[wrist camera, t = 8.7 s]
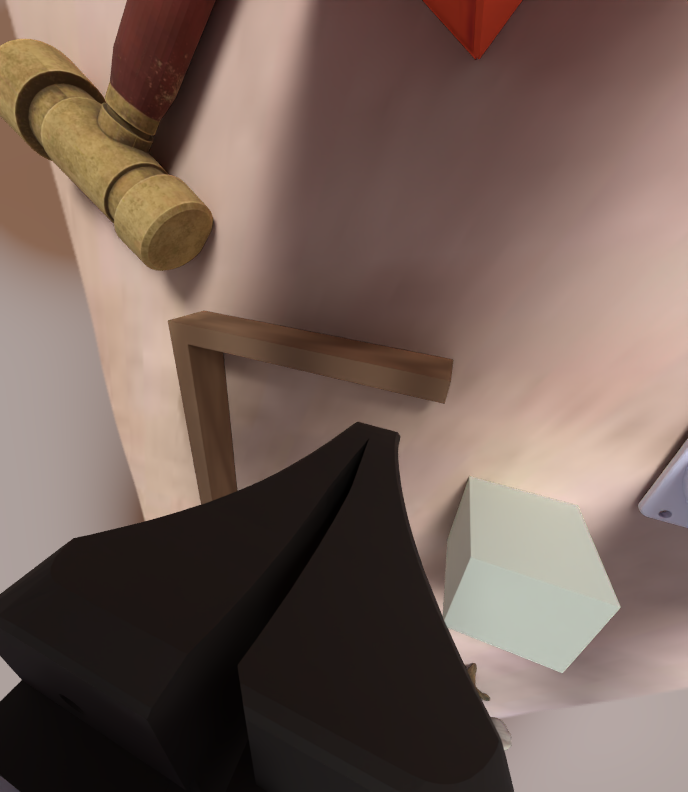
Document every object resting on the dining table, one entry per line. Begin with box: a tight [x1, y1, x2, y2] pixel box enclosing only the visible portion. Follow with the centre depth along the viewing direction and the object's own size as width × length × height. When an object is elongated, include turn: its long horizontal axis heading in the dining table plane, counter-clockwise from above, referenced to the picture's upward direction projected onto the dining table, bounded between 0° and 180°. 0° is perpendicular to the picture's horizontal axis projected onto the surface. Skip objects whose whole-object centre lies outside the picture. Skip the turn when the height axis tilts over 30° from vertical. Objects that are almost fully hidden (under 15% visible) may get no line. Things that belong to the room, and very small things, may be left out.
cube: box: [443, 476, 621, 673], centre depth 18 cm, size 6×6×6 cm
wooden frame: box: [168, 311, 453, 505], centre depth 22 cm, size 16×20×3 cm
